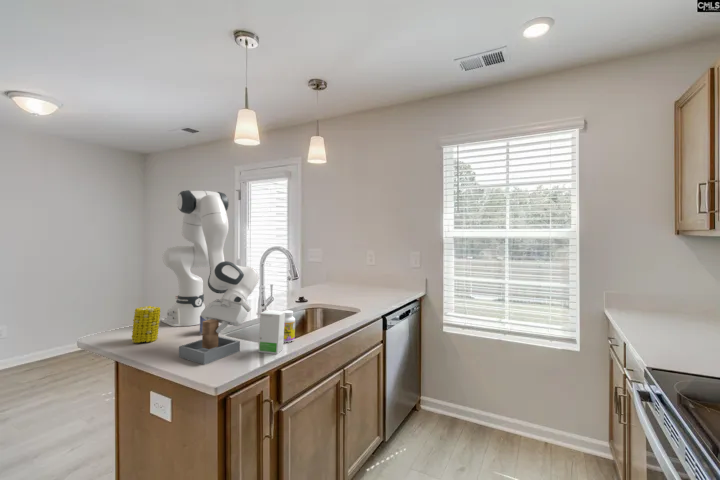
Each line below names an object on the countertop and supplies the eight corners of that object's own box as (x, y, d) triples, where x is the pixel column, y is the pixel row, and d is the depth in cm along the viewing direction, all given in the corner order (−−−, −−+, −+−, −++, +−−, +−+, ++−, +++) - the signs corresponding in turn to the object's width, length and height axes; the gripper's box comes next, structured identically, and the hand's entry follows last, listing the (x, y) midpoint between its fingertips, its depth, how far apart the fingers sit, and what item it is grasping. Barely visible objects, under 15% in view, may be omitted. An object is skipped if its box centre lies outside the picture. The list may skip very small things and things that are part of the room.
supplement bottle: (276, 342, 145) (277, 312, 145) (282, 338, 151) (283, 309, 151) (291, 343, 144) (292, 313, 144) (296, 339, 150) (297, 310, 150)
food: (126, 346, 139) (149, 340, 149) (147, 343, 135) (169, 338, 145) (123, 309, 141) (145, 306, 150) (143, 305, 137) (165, 302, 147)
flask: (203, 335, 152) (203, 311, 152) (197, 335, 152) (197, 311, 152) (215, 330, 161) (215, 307, 161) (209, 329, 161) (209, 307, 161)
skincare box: (257, 352, 132) (258, 313, 132) (264, 347, 138) (265, 309, 138) (278, 354, 131) (279, 314, 131) (284, 348, 137) (285, 310, 137)
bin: (178, 357, 125) (179, 346, 125) (215, 345, 139) (215, 335, 139) (204, 364, 119) (204, 353, 119) (239, 351, 133) (239, 341, 133)
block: (202, 347, 128) (202, 321, 128) (211, 344, 132) (211, 319, 132) (209, 349, 126) (209, 322, 126) (218, 346, 130) (218, 320, 130)
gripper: (210, 294, 141) (188, 323, 132) (246, 299, 131) (225, 331, 123) (219, 303, 145) (198, 331, 136) (254, 309, 135) (234, 340, 127)
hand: (211, 331), depth 129 cm, fingers closed on block, 4 cm apart
